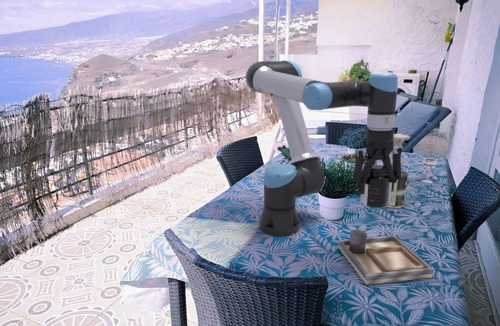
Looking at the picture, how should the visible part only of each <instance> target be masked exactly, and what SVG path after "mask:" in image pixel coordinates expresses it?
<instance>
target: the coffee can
mask: <svg viewBox="0 0 500 326" xmlns="http://www.w3.org/2000/svg"><path fill="white" fill-rule="evenodd" d="M392 170H393V169H392ZM385 175H386V174H385ZM408 176H409V173H408V172H406V171H404V170H401V179H400V180H397V182H396V183H394V190H393V192H391V200H390V203H387V205H386V206H385V207H386V208H390V209H391V208H392V209H399V208H400V209H401V208H403V207H405V200H406V194H407V193H406V191H407V185H408V184H407V179H408Z"/></svg>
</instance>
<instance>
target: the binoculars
mask: <svg viewBox="0 0 500 326" xmlns="http://www.w3.org/2000/svg"><path fill="white" fill-rule="evenodd" d="M276 149H277V150H278V151H279V152H281V155H282V156H283V158H282V159H281V162H280V163H279V164H284V163H285V164H289V163H290V161H291V159H292V158H291V154H290V151H289V147H287V146H286V145H285V144H282V147H281V146H278V147H277V148H276Z"/></svg>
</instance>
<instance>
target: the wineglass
mask: <svg viewBox="0 0 500 326" xmlns="http://www.w3.org/2000/svg"><path fill="white" fill-rule="evenodd" d="M422 159H423V160H422V162H421V163H422V165H423V167H424V168H426V170H427V176H426V177H427V178H426V179H422V180H421V182H423V183H426V184H432V183H433V181H432V180H430V179H429V176H430V171H431V170H433V169H435V168H436V167H437V165H438V160H439V159H438V158H435V157H430V156H426V157H423V158H422Z"/></svg>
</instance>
